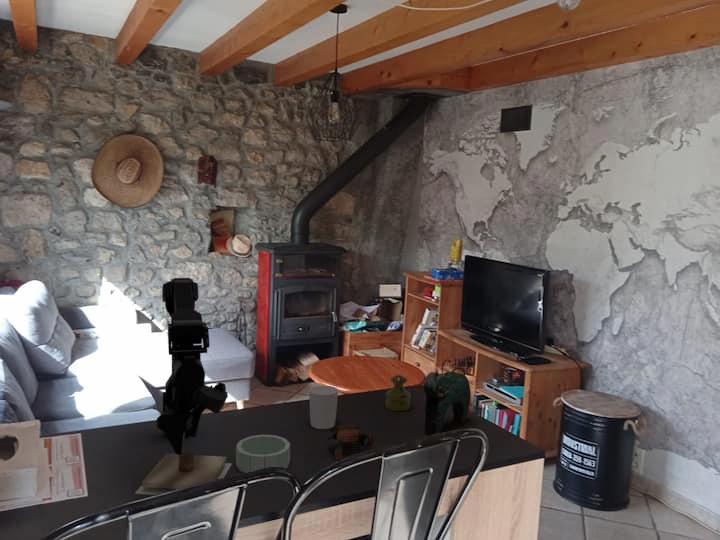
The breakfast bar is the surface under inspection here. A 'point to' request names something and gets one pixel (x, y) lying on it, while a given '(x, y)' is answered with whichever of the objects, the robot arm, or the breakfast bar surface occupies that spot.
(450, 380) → the green elephant figurine
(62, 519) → the breakfast bar surface
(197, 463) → the lid
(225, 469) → the mat
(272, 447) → the bowl
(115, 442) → the breakfast bar surface
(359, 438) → the brown piece
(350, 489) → the breakfast bar surface
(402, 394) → the olive green bottle-shaped piece
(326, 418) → the white cup
